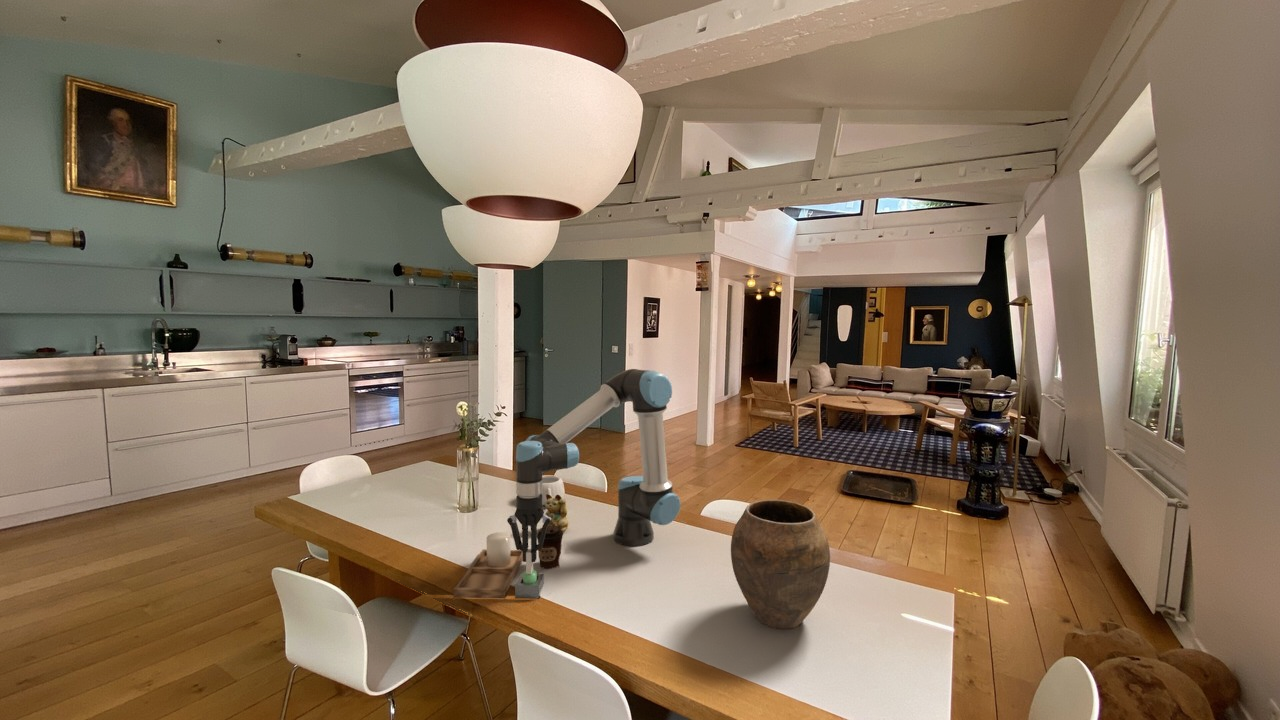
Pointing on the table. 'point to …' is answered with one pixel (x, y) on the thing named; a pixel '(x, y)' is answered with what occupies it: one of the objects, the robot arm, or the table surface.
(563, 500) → the decorative figurine
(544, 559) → the coffee cup
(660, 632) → the table surface
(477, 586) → the wooden tray
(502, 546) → the seated billet
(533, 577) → the button
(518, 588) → the button housing
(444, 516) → the table surface
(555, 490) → the mug
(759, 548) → the vase
